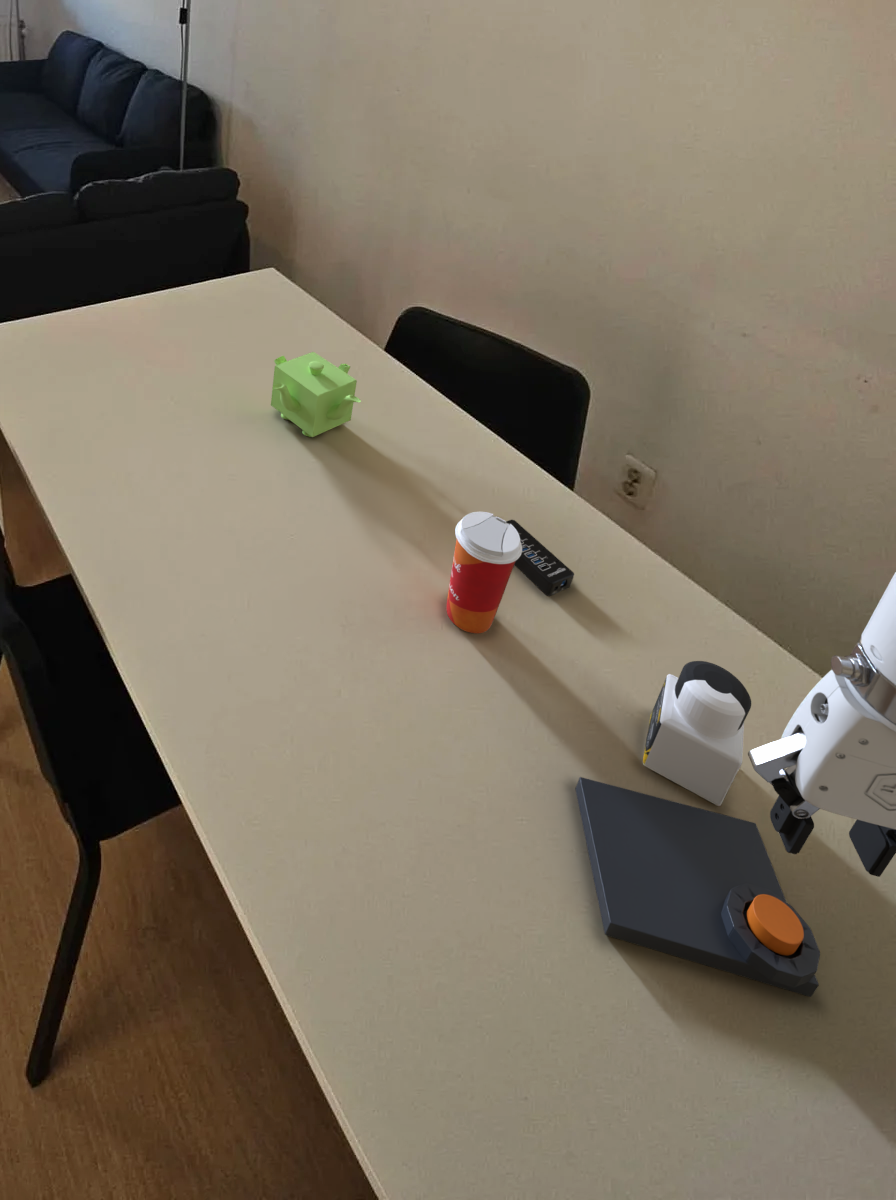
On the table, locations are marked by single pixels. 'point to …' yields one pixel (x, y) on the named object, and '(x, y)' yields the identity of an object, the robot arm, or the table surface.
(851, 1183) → the table surface
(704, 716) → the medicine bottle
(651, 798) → the scale
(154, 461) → the table surface
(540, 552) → the multiport hub
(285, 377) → the kettle
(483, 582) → the paper cup
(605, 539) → the table surface
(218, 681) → the table surface
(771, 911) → the button
